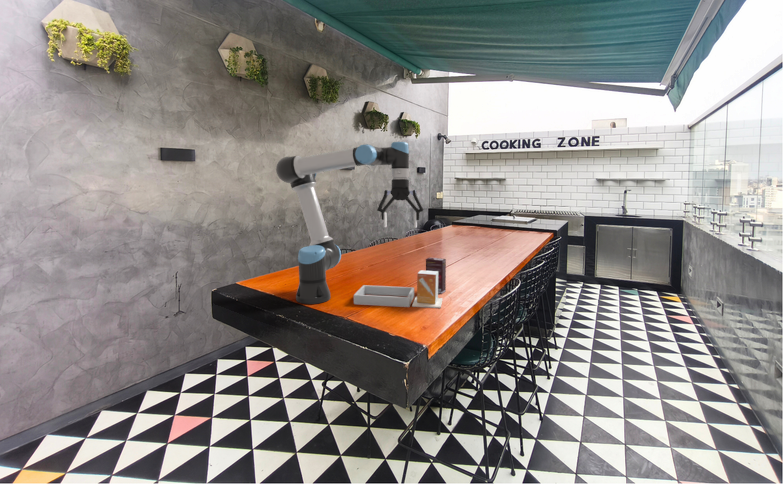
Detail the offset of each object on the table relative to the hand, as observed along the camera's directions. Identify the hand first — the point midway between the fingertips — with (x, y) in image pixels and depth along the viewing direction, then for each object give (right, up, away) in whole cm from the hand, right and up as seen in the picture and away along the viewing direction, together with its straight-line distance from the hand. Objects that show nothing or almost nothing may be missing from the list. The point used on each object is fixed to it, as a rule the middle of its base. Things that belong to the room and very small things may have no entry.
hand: (400, 227), depth 170 cm
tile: (+12, -33, -4) cm, 35 cm away
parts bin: (-7, -32, 0) cm, 33 cm away
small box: (+12, -32, -4) cm, 35 cm away
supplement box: (+17, -30, +13) cm, 37 cm away
